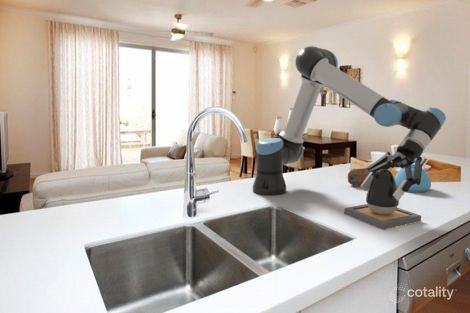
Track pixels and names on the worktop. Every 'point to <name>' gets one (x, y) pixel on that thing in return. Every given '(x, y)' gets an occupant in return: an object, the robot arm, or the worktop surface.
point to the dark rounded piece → (382, 193)
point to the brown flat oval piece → (357, 176)
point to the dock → (379, 223)
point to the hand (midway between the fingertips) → (378, 192)
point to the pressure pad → (382, 217)
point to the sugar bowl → (421, 187)
